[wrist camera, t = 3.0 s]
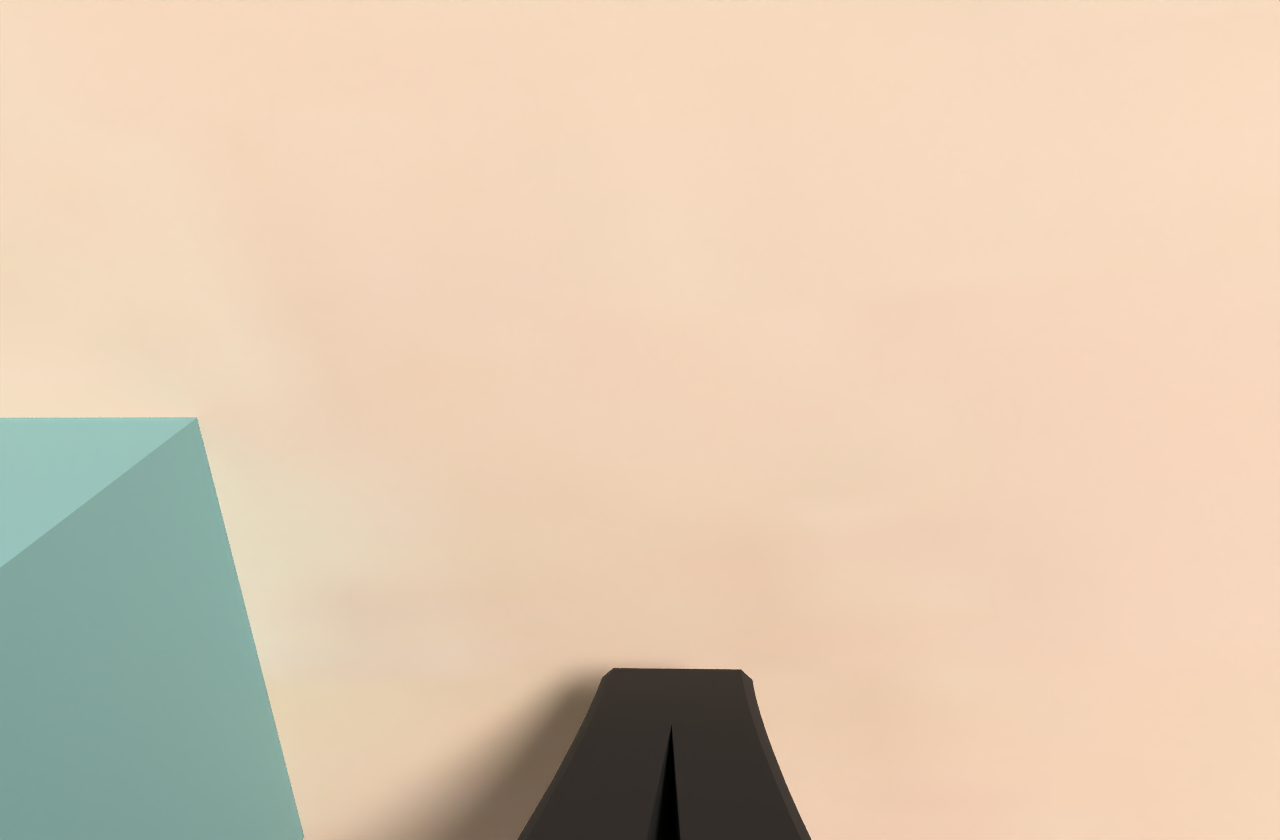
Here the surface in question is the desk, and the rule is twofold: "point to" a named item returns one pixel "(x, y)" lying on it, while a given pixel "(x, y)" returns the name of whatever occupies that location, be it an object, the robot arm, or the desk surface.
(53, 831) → the teal block
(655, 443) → the desk surface
